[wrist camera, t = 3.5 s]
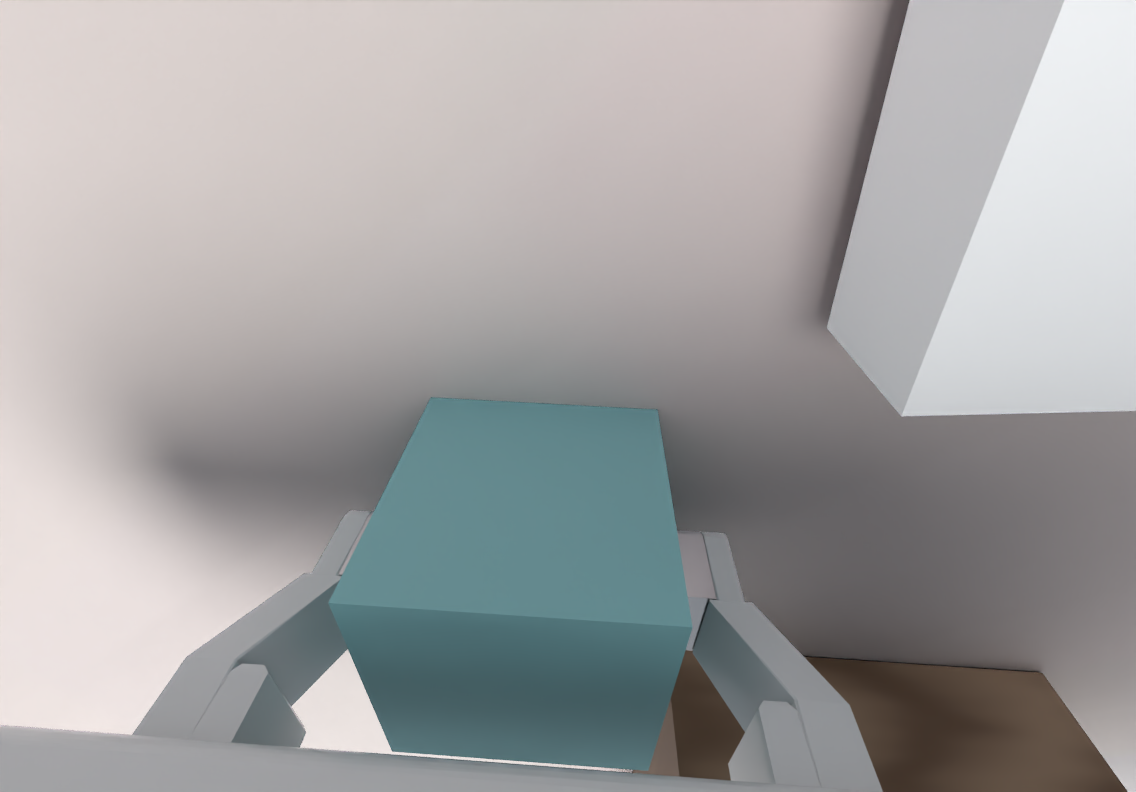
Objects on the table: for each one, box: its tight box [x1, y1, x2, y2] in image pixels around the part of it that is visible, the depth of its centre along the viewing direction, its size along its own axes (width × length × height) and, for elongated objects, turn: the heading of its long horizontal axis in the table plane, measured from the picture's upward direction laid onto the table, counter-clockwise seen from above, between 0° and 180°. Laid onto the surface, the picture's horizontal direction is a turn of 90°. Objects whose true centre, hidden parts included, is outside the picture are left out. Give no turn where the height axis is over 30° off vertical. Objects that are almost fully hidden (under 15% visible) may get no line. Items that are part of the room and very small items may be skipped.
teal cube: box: [328, 397, 693, 771], centre depth 10 cm, size 5×5×5 cm
